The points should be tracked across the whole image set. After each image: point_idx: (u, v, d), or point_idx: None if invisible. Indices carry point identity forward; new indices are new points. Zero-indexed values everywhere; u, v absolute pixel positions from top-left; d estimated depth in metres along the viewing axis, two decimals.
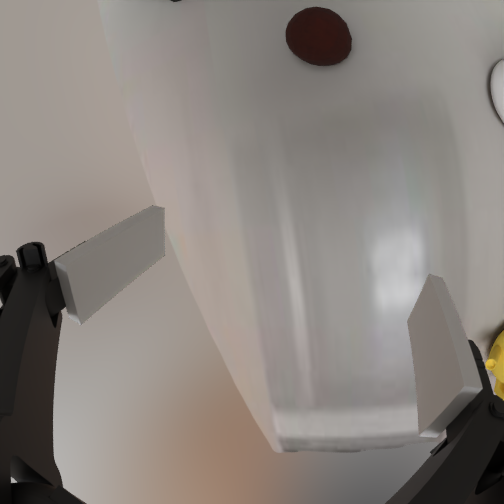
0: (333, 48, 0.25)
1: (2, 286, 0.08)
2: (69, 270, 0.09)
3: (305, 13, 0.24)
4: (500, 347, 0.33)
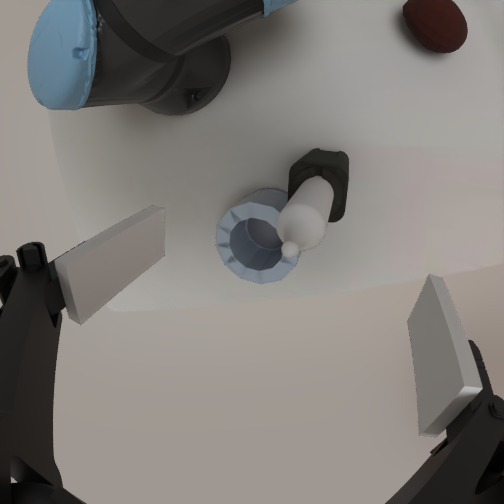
0: (458, 8, 0.16)
1: (2, 286, 0.08)
2: (69, 270, 0.09)
3: (426, 17, 0.18)
4: None
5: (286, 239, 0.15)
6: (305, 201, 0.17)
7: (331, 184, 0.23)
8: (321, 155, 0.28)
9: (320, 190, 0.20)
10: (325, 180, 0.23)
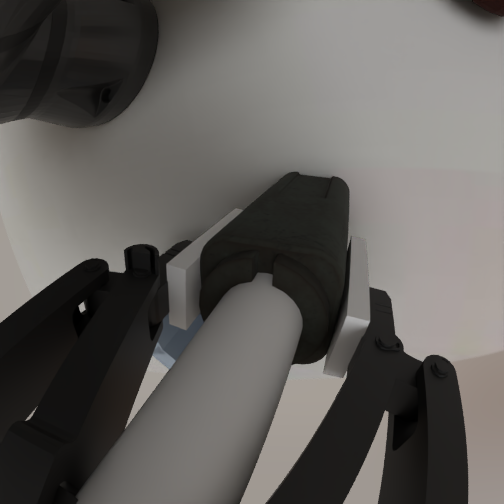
0: None
1: (86, 296, 0.08)
2: (186, 274, 0.10)
3: None
4: None
5: None
6: None
7: (297, 302, 0.09)
8: (292, 197, 0.14)
9: (236, 384, 0.06)
10: (280, 294, 0.09)
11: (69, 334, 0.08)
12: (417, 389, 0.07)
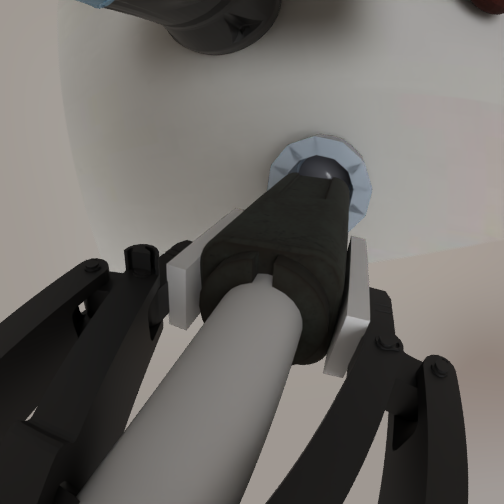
0: None
1: (86, 296, 0.08)
2: (186, 274, 0.10)
3: None
4: None
5: None
6: None
7: (297, 303, 0.09)
8: (292, 198, 0.14)
9: (236, 385, 0.06)
10: (281, 295, 0.09)
11: (69, 334, 0.08)
12: (417, 389, 0.07)
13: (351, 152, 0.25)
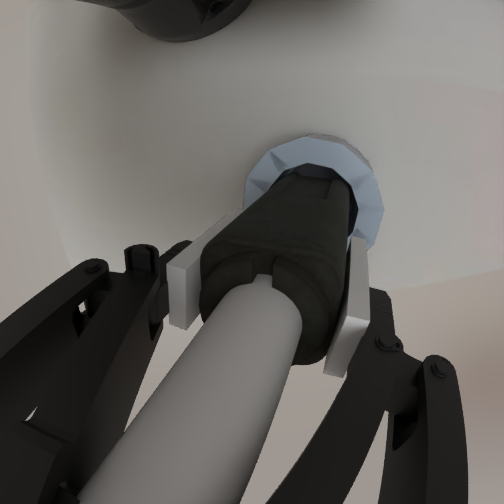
0: None
1: (86, 296, 0.08)
2: (186, 274, 0.10)
3: None
4: None
5: None
6: None
7: (297, 303, 0.09)
8: (292, 198, 0.14)
9: (236, 385, 0.06)
10: (280, 295, 0.09)
11: (69, 334, 0.08)
12: (417, 389, 0.07)
13: (355, 158, 0.18)
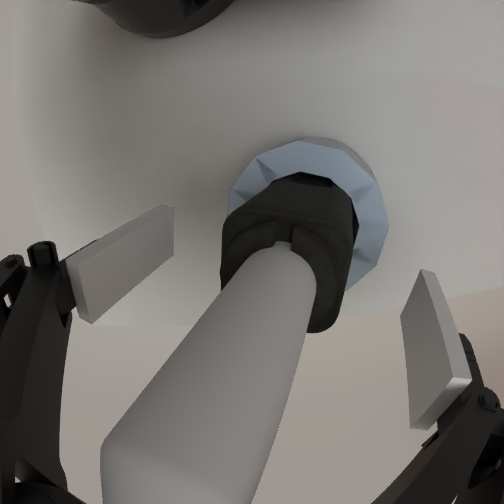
0: None
1: (10, 286, 0.08)
2: (81, 269, 0.09)
3: None
4: None
5: None
6: (170, 441, 0.04)
7: (312, 266, 0.10)
8: (301, 185, 0.16)
9: (270, 319, 0.07)
10: (298, 257, 0.10)
11: (2, 323, 0.07)
12: None
13: (356, 166, 0.15)
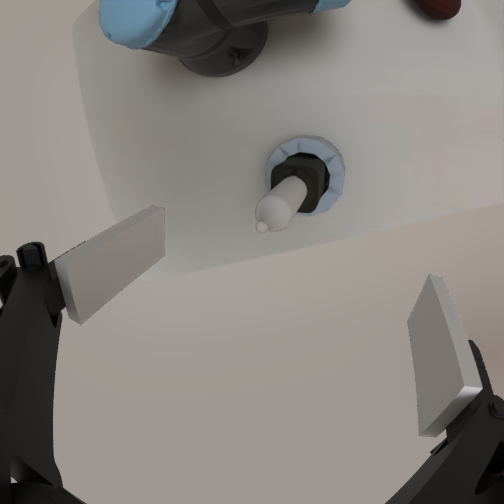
0: None
1: (2, 286, 0.08)
2: (69, 270, 0.09)
3: None
4: None
5: (260, 220, 0.21)
6: (275, 194, 0.23)
7: (304, 182, 0.29)
8: (300, 158, 0.34)
9: (292, 186, 0.26)
10: (299, 178, 0.29)
11: None
12: None
13: (326, 147, 0.34)
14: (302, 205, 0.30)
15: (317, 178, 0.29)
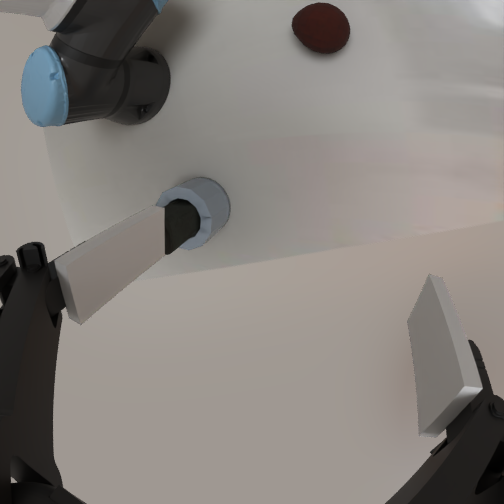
0: (337, 11, 0.26)
1: (2, 286, 0.08)
2: (69, 270, 0.09)
3: (303, 27, 0.28)
4: None
5: None
6: None
7: None
8: (174, 205, 0.42)
9: None
10: None
11: None
12: None
13: (196, 195, 0.42)
14: None
15: (169, 229, 0.37)
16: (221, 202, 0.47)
